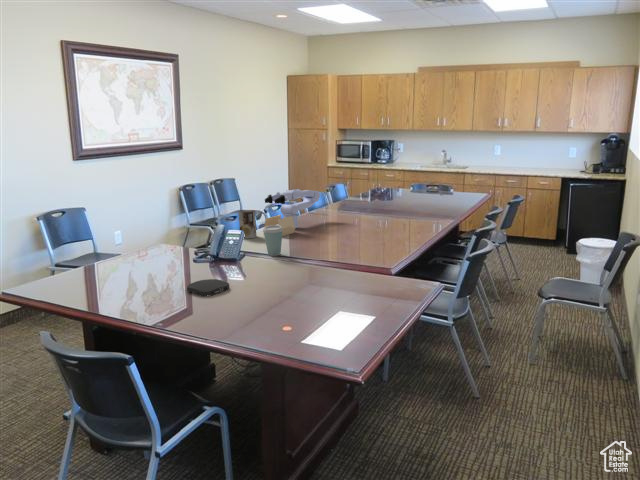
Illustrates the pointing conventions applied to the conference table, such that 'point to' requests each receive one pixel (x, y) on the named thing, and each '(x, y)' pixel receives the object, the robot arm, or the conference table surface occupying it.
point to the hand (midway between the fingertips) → (270, 201)
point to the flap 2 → (286, 222)
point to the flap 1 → (272, 220)
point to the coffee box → (248, 223)
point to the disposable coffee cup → (273, 239)
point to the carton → (288, 230)
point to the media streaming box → (208, 287)
